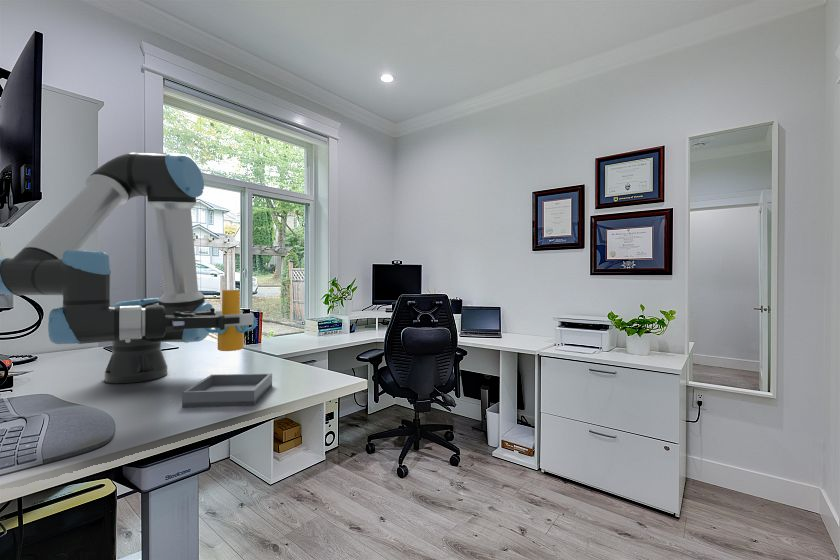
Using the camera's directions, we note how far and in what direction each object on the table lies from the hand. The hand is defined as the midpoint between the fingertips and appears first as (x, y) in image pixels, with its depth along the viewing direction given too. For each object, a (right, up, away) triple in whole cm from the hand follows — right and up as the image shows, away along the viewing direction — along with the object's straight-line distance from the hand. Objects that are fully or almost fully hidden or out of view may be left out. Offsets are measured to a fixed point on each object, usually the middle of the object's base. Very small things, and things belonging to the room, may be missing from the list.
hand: (247, 316), depth 100 cm
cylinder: (-3, -8, -2) cm, 9 cm away
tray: (-3, -20, -2) cm, 20 cm away
